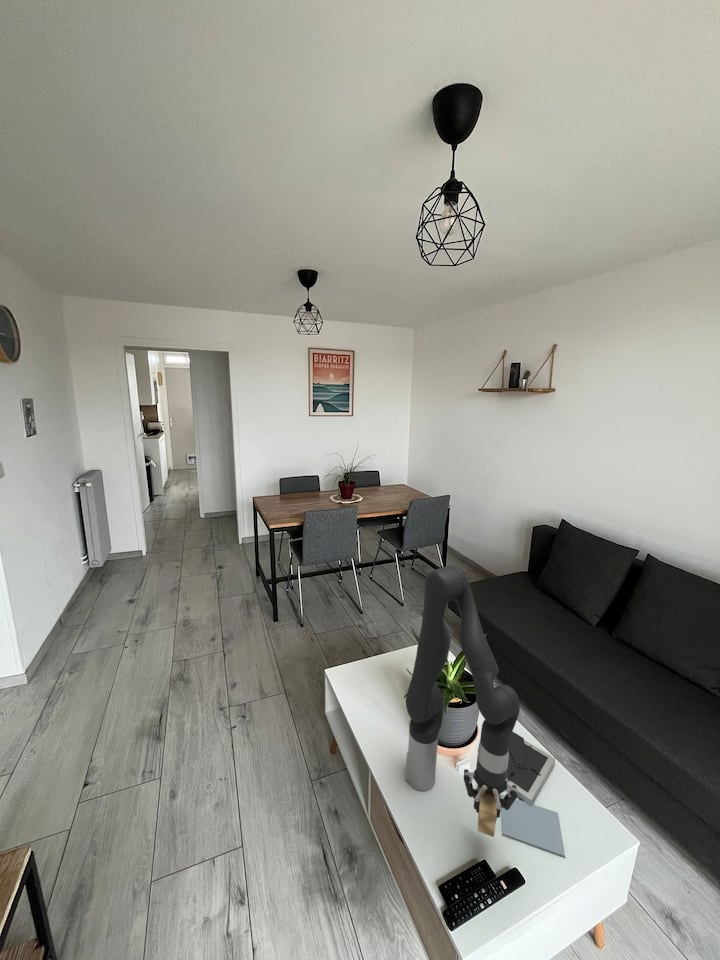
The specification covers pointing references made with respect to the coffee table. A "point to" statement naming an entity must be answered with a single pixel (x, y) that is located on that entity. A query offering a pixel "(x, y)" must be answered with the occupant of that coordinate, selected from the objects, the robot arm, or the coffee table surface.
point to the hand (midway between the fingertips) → (486, 812)
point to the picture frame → (527, 768)
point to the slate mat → (533, 826)
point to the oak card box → (487, 814)
